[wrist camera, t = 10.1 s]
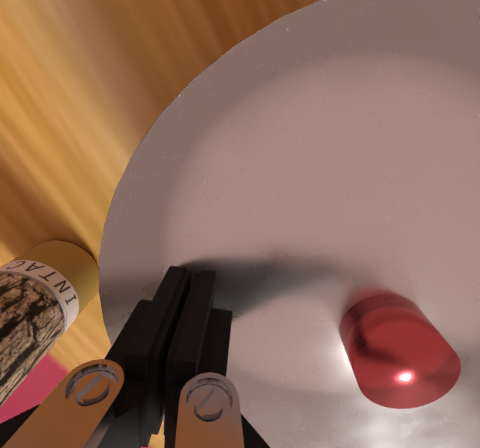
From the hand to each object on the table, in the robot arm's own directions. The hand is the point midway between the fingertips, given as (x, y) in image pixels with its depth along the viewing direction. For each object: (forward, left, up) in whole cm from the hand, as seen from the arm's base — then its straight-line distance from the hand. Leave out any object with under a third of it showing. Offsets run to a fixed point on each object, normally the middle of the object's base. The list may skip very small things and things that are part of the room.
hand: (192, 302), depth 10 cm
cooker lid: (-7, 0, -2) cm, 7 cm away
